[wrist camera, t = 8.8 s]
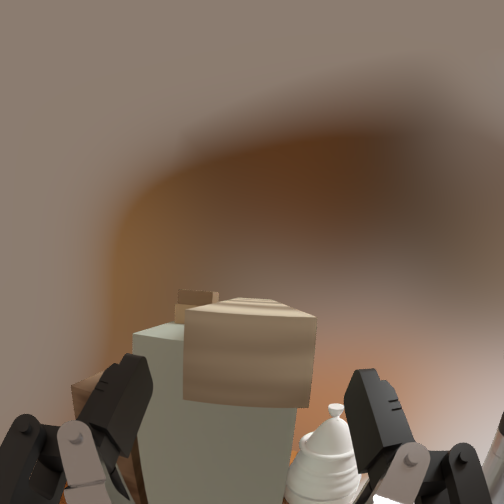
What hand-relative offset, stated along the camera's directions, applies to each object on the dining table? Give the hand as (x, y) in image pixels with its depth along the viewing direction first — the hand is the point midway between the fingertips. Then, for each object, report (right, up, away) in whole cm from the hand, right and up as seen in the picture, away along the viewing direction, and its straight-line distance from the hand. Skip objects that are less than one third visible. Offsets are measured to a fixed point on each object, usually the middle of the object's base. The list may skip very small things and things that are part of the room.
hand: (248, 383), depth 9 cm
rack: (-4, -34, +11) cm, 36 cm away
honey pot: (+12, -37, +22) cm, 45 cm away
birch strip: (0, -2, +11) cm, 11 cm away
